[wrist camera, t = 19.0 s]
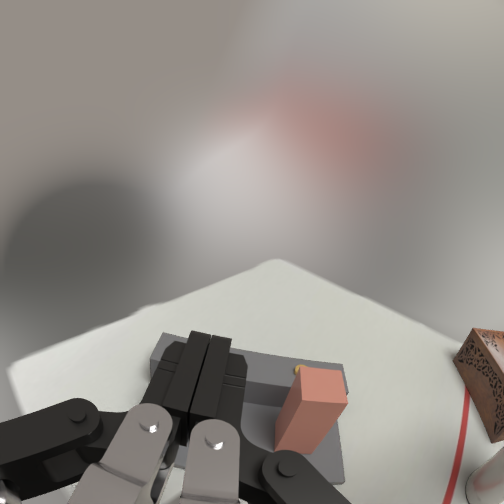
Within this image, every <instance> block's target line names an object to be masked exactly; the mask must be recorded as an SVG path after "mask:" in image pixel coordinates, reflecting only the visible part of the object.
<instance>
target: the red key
mask: <svg viewBox="0 0 504 504" xmlns="http://www.w3.org/2000/svg"><path fill="white" fill-rule="evenodd" d="M347 404H348V401H347V396H346V391H345V386H344V381H343V377H342V372H341V371H340V370H330V369H320V368H312V367H304V366H300V367H299V370H298V372H297V374H296V377H295V379H294V382H293V384H292V386H291V389H290V391H289V393H288V395H287V398H286V400H285V402H284V405H283V407H282V409H281V411H280V413H279V416H278V418H277V420H276V422H275V447H274V452H275V451H279V450H292V451H295V452H298V453H300V454H312V453H313V451H314V450H315V449H316V448H317V446H318V445H319V444H320V442H321V441H322V440H323V438H324V437H325V436H326V434H327V433H328V432H329V430H330V429H331V427H332V426H333V425H334V423H335V422H336V420H337V419H338V417H339V416H340V415H341V413H342V412H343V410H344V409H345V407H346V406H347Z"/></svg>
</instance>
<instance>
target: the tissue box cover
mask: <svg viewBox="0 0 504 504" xmlns="http://www.w3.org/2000/svg"><path fill="white" fill-rule="evenodd" d="M453 362H454V364H455V366H456V368H457V370H458V371H459V373H460V375H461V377H462V379H463V381H464V383H465V385H466V387H467V389H468V391H469V393H470V395H471V397H472V399H473V401H474V404H475V406H476V408H477V410H478V412H479V414H480V417H481V419H482V421H483V424H484V426H485V428H486V431H487V433H488V435H489V438H490V440H491V443H496V442H499V441H502V440H504V332H501V331H494V330H486V329H477V328H472V331H471V332H470V334H469V335H468V337H467V339H466V340H465V342H464V344H463V345H462V347H461V348H460V350H459V352H458V353H457V355H456V356H455V358H454V359H453Z"/></svg>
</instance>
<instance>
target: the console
mask: <svg viewBox="0 0 504 504" xmlns="http://www.w3.org/2000/svg"><path fill="white" fill-rule="evenodd" d="M187 340H188V338H184V337H180V336H176V335H172V334H168V333H164V332H163V333H162V335H161V337H160V339H159V341H158V343H157V345H156V347H155V349H154V351H153V353H152V355H151V357H150V369H151V379H152V377H153V374H154V372H155V370H156V369H157V366H158V363H159V361H160V360H161V357H162V355H163V353H164V350H165V348H166V347H168V346H169V345H170V344H171V343H173V342H174V341H179V342H183V343H187ZM229 353H235V354H240V355H244V358H245V360H246V363H247V365H248V370H247V378H246V385H245V393H244V401H243V409H242V417H241V430H242V433H243V434H244V436H245V437H246V439H247V440H248V441H250V442H251V443H252V444H254V445H256V446H258V447H260V448H262V449H265V450H267V451H270V452H272V453H273V452H274V447H275V422H276V420H277V418H278V416H279V413H280V411H281V409H282V407H283V405H284V402H285V400H286V398H287V395H288V393H289V391H290V389H291V386H292V384H293V382H294V379H295V377H296V374H297V372H298V370H299V367H300V366H304V367H312V368H320V369H330V370H340V371H341V372H342V377H343V381H344V386H345V391H346V396H347V394H348V393H349V392H348V387H347V382H346V378H345V373H344V369H343V364H337V363H328V362H319V361H311V360H303V359H296V358H289V357H282V356H276V355H269V354H263V353H257V352H252V351H246V350H241V349H235V348H230V352H229ZM188 446H189V439H188V443H187V447H185V446H181V445H179V449H178V452H177V456H176V459H175V463H174V466H173V467H177V468H181V469H185V468H186V461H187V455H188V449H189V447H188ZM301 455H303V456H304V457H305V458H306V459H307V460H308V461H309V462H310V463H311V464H312V465H313V466H314V467H315V468H316V469H317V470H318V471H319V472H320V474H321V475H322V476H323V477H324V478H325V479H326V480H327V481H328V482H329V483H330V484H331V485H338V484H343V483H344V482H345V477H344V468H343V459H342V451H341V444H340V436H339V429H338V422H337V420H336V422H335V423H334V425H333V426H332V427H331V429H330V430H329V432H328V433H327V434H326V436H325V437H324V438H323V440H322V441H321V442H320V444H319V445H318V446H317V448H316V449H315V450H314V451H313V453H312V454H301Z"/></svg>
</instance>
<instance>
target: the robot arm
mask: <svg viewBox="0 0 504 504" xmlns="http://www.w3.org/2000/svg"><path fill="white" fill-rule="evenodd" d="M231 341H232V339H230V338H225V337H220V336H215V335H212V338H211V335H210V334H206V333H201V332H197V331H191V333H190V335H189V338H188V340H187V343H183V342H179V341H174V342H173V343H171V344H170V345H169V346H168V347H166V348H165V350H164V353H163V355H162V357H161V360H160V361H159V363H158V366H157V369H156V370H155V372H154V374H153V377H152V379H151V381H150V383H149V386H148V388H147V390H146V392H145V395H144V397H143V399H142V401H141V402H140V404H139V405H136V406H134V407H133V408H131V409H130V410H129V411H126V412H119V413H116V412H103V411H98V409H97V407H96V406H95V405H94V404H93V403H91V402H90V401H88V400H86V399H82V398H73V399H70V400H67V401H64V402H61V403H59V404H56V405H53V406H50V407H47V408H45V409H42V410H39V411H36V412H33V413H30V414H27V415H24V416H21V417H18V418H15V419H12V420H9V421H5V422H2V423H0V504H22V503H21V501H23V500H26V499H30V498H33V497H36V496H39V495H42V494H46V493H48V492H51V491H54V490H57V489H60V488H63V487H65V486H68V485H70V484H73V483H76V482H78V481H79V483H78V485H77V487H76V488H75V490H74V492H73V494H72V496H71V498H70V499H69V501H68V503H67V504H159V502H160V500H161V497H162V495H163V492H164V489H165V487H166V484H167V482H168V479H169V476H170V474H171V471H172V468H173V466H174V463H175V459H176V456H177V452H178V449H179V445H181V446H185V447H187V443H188V439H189V446H188V447H189V449H188V455H187V461H186V468H185V475H184V481H183V488H182V493H181V496H180V501H179V504H240V502H239V499H238V498H240V499H242V500H244V501H247V502H248V504H351V503H350V502H349V501H348V500H347V499H346V498H345V497H344V496H343V495H342V494H341V493H340V492H339V491H338V490H337V489H335V488H334V487H333V486H332V485H331V484H330V483H329V482H328V481H327V480H326V479H325V478H324V477H323V476H322V475H321V474H320V472H319V471H318V470H317V469H316V468H315V467H314V466H313V465H312V464H311V463H310V462H309V461H308V460H307V459H306V458H305V457H304V456H303V455H301V454H300V453H298V452H295V451H292V450H279V451H275V452H273V453H272V452H270V451H267V450H265V449H262V448H260V447H258V446H256V445H254V444H252V443H251V442H250V441H248V440H247V439H246V437H245V436H244V434H243V433H242V430H241V417H242V409H243V401H244V393H245V385H246V378H247V370H248V365H247V363H246V360H245V358H244V355H240V354H235V353H229V352H230V346H231ZM466 495H467V499H468V501H469V503H470V504H500V503H502V502H503V501H504V447H503V448H502V449H501V450H500V451H498V452H497V453H496V454H495V455H494V456H493V457H492V458H491V459H489V460H488V461H487V462H486V463H485V464H483V465H482V466H481V467H480V468H478V469H477V470H476V471H475V472H473V473H472V474H471V476H470V477H469V479H468V481H467V485H466Z"/></svg>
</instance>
